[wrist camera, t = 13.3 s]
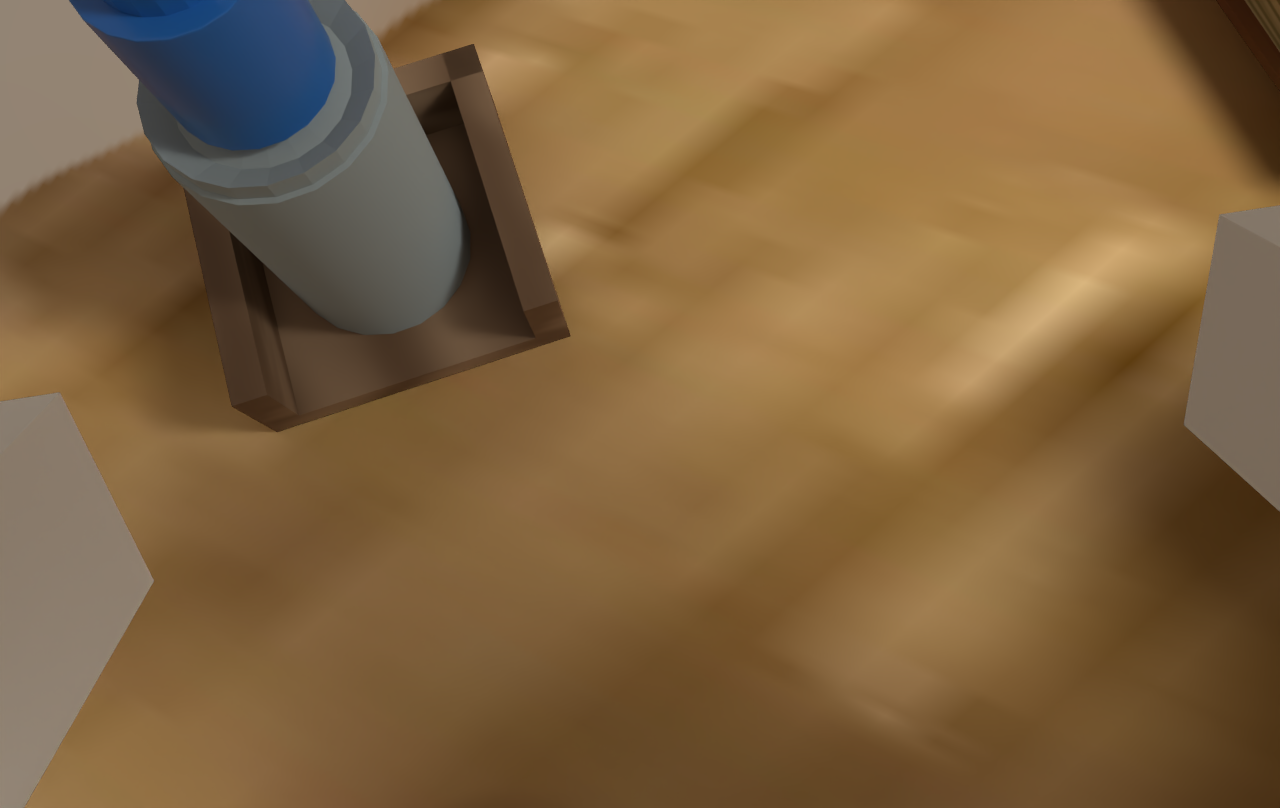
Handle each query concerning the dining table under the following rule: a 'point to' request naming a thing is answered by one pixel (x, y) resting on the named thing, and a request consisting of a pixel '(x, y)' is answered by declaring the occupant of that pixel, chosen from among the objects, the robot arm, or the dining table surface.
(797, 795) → the dining table surface
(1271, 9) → the diary
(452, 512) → the dining table surface
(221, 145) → the blue and grey bottle
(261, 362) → the rest
